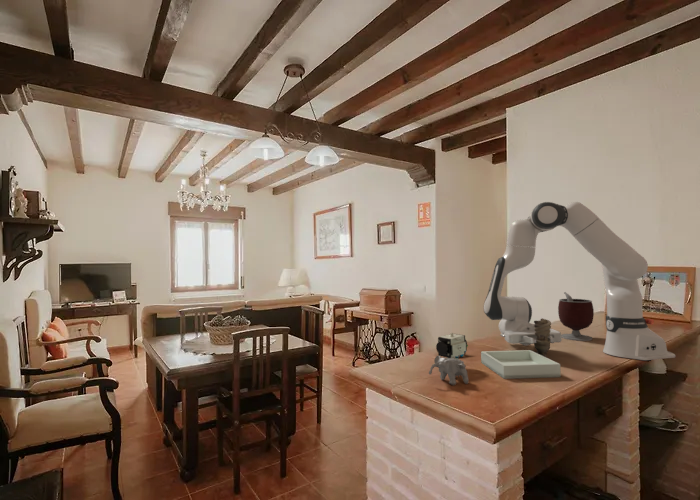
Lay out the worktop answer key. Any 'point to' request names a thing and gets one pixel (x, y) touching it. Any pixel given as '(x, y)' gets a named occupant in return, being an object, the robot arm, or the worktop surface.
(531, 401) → the worktop surface
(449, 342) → the pneumatic valve
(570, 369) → the worktop surface
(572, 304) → the mate gourd
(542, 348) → the light bulb
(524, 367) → the tray
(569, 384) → the worktop surface
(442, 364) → the gray elephant figurine
